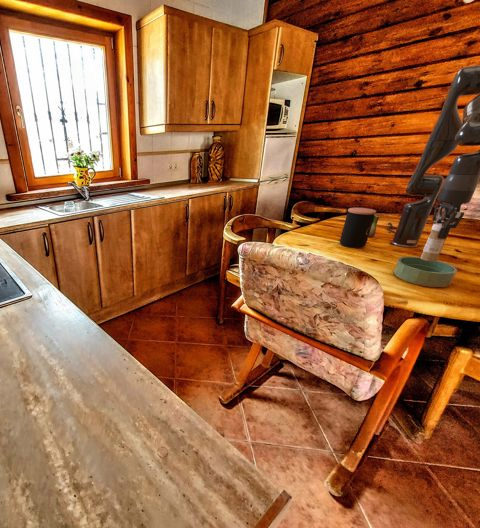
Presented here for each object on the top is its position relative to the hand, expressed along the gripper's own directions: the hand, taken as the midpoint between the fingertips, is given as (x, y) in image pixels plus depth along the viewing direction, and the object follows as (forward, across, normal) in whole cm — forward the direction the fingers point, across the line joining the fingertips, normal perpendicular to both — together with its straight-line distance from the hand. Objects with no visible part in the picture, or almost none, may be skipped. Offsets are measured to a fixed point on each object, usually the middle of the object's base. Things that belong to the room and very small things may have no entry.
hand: (438, 235), depth 99 cm
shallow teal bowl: (+17, 0, 0) cm, 17 cm away
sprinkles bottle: (+10, 0, 0) cm, 10 cm away
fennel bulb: (+18, +52, +6) cm, 55 cm away
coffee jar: (+17, +34, +16) cm, 41 cm away
